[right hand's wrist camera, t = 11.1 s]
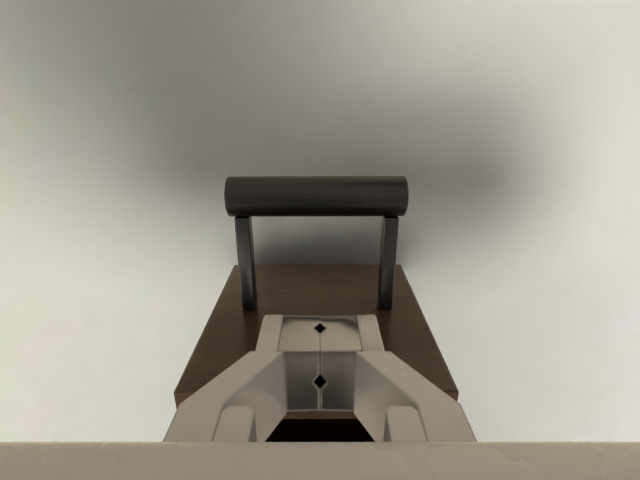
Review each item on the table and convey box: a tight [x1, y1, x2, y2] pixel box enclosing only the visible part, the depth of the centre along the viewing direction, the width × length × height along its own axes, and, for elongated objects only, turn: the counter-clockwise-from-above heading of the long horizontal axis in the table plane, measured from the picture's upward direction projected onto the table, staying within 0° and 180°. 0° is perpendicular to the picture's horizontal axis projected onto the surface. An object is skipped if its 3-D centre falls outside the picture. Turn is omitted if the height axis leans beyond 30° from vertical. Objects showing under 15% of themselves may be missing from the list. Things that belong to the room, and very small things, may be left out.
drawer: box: [174, 176, 459, 442], centre depth 19 cm, size 24×9×10 cm, turn 0°
